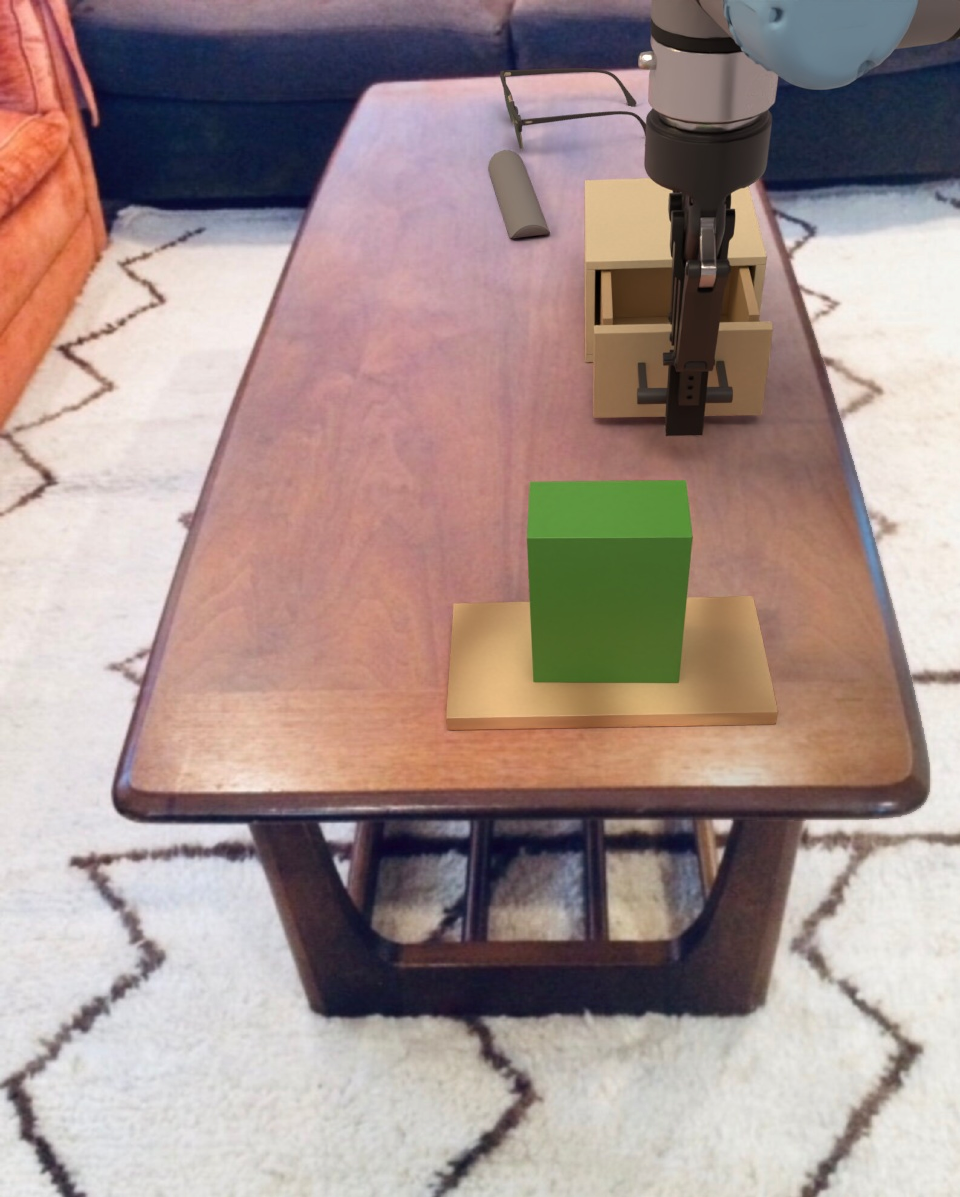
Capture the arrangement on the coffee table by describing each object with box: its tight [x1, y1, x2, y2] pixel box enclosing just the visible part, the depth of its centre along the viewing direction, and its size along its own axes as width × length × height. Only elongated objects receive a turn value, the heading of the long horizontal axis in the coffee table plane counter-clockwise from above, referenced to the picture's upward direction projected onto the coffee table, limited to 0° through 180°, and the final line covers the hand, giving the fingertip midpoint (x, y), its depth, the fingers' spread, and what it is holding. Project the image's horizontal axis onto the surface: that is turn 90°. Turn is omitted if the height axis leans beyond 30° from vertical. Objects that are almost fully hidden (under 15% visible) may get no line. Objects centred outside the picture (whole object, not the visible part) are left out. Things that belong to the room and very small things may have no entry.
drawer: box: [592, 265, 774, 419], centre depth 89 cm, size 19×13×8 cm
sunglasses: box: [499, 67, 646, 151], centre depth 132 cm, size 16×17×5 cm
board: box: [445, 595, 779, 731], centre depth 70 cm, size 20×10×1 cm, turn 88°
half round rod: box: [487, 149, 551, 239], centre depth 120 cm, size 4×20×2 cm, turn 7°
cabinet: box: [583, 177, 768, 363], centre depth 98 cm, size 16×15×10 cm
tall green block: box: [526, 479, 694, 683], centre depth 66 cm, size 5×9×12 cm, turn 86°
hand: (683, 429), depth 82 cm, fingers closed
